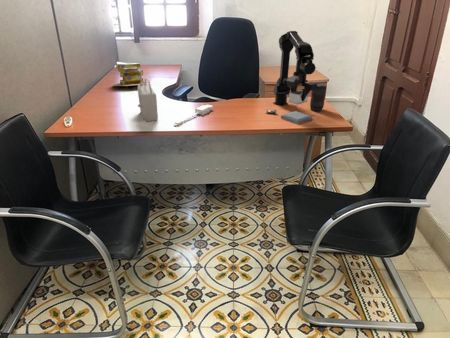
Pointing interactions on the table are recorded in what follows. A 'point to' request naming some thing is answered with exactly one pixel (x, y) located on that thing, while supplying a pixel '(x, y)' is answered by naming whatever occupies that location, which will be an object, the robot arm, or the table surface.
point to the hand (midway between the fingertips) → (298, 99)
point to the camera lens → (318, 97)
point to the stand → (296, 117)
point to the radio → (147, 101)
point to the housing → (297, 97)
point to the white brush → (199, 110)
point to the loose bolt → (271, 112)
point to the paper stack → (129, 74)
